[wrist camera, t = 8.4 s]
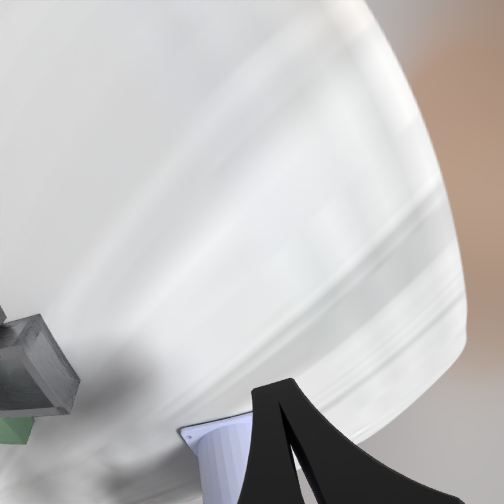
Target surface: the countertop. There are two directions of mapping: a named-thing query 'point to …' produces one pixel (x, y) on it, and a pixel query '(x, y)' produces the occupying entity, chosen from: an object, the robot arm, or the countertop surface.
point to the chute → (33, 371)
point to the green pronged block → (14, 421)
